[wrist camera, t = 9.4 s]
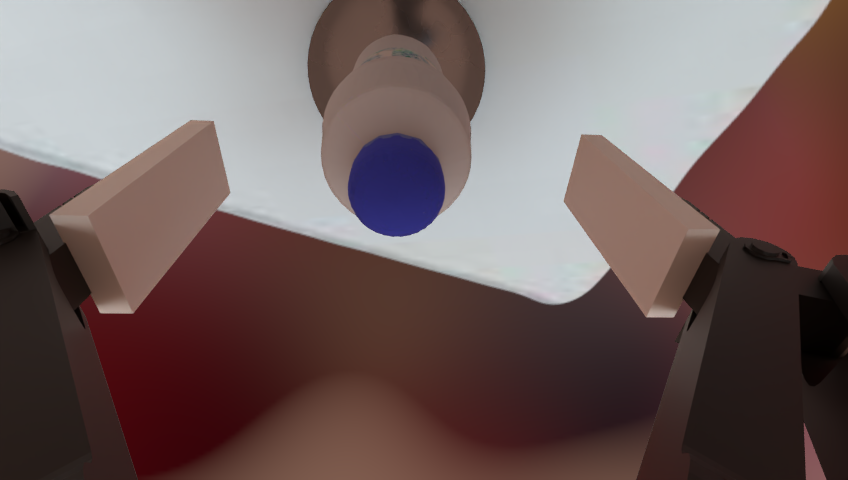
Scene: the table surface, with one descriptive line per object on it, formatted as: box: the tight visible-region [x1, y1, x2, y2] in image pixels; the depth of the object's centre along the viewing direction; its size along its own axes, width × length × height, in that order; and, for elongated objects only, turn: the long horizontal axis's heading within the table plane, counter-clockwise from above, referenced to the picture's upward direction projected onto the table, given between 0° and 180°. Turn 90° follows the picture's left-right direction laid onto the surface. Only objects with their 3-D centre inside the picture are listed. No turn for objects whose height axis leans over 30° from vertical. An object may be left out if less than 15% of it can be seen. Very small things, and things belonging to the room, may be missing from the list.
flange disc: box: [308, 0, 485, 121], centre depth 30 cm, size 13×13×1 cm
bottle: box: [321, 34, 471, 237], centre depth 21 cm, size 7×7×20 cm
